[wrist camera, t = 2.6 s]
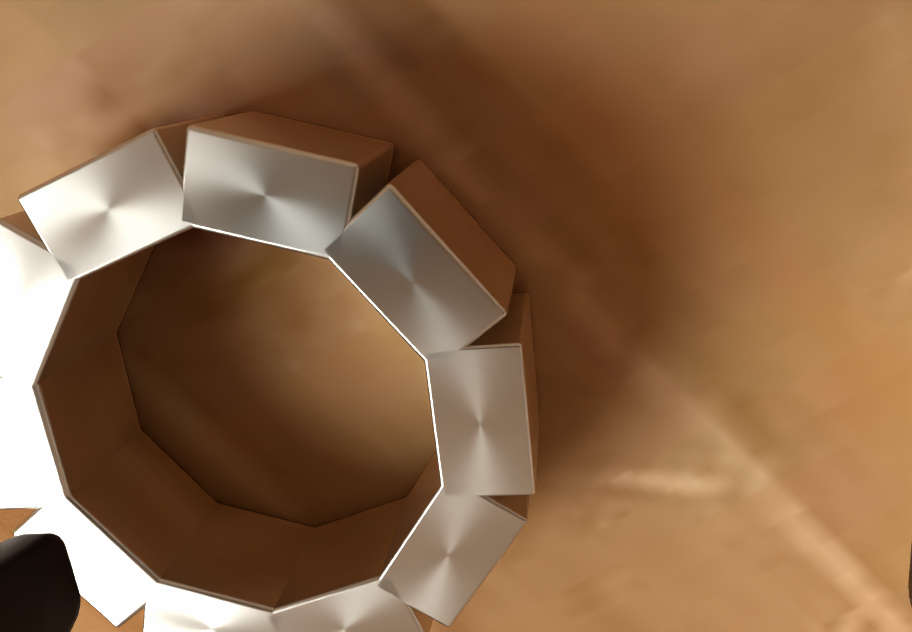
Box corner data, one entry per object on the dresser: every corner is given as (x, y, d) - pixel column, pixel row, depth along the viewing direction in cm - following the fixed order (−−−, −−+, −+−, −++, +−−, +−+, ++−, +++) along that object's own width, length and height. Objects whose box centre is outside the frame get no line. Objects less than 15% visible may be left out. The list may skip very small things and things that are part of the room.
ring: (511, 82, 12) (500, 91, 10) (553, 584, 15) (551, 680, 13) (-9, 138, 14) (-122, 157, 11) (119, 589, 16) (48, 676, 14)
